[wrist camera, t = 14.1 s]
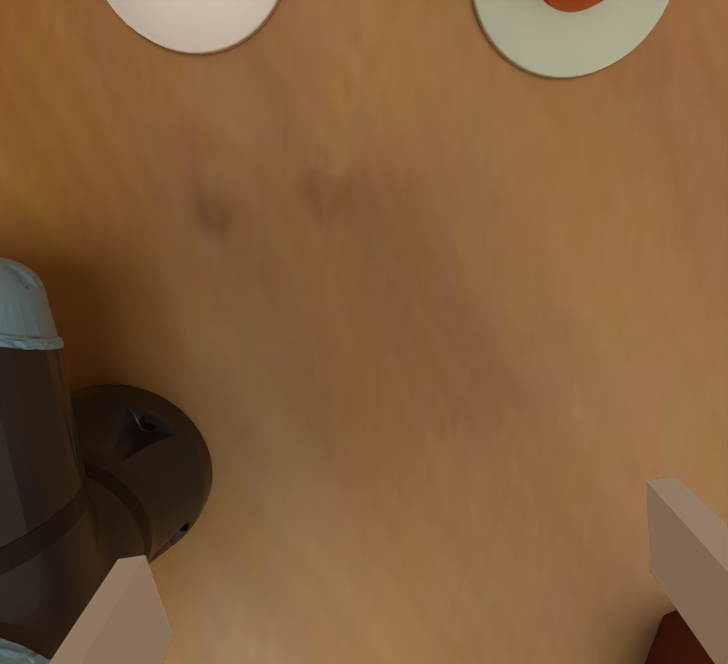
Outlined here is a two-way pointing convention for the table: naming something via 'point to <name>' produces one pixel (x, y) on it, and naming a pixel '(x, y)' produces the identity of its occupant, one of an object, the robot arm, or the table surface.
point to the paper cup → (572, 4)
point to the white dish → (196, 22)
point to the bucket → (676, 643)
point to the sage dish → (565, 33)
